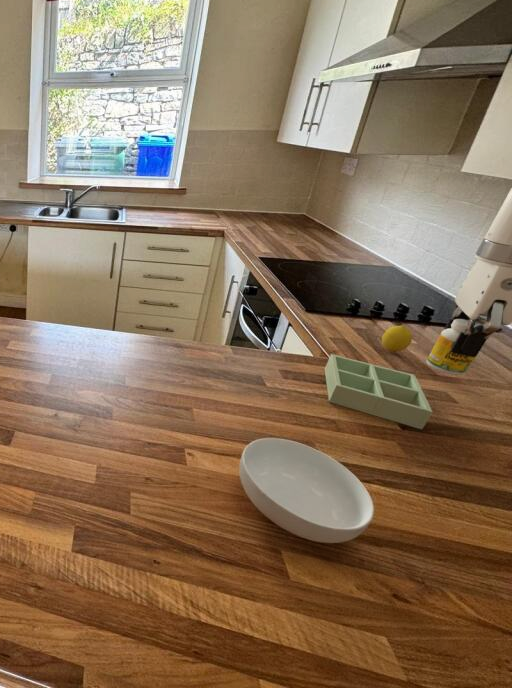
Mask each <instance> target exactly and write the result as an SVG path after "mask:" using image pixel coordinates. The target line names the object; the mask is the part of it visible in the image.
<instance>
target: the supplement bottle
mask: <svg viewBox="0 0 512 688" xmlns="http://www.w3.org/2000/svg"><path fill="white" fill-rule="evenodd" d="M453 320H454V319H453ZM468 321H469V320H464V319H455V320H454V321H453V323H452V324H451V328H449V329H445V328H444V329H445V330H444V329H443V330H442V331H441V332H440V334H439V336H438V338H437V340H436V342H435V344H434V346H433V348H432V349H431V350H430V353H429V354H428V357H427V359H426V364H427V365H428V366H429V367H431V368H432V369H434V370H436V371H439V372H440V373H444V374H446V375H452V376H461V375H464V374H466V373H467V372H468V370H469V368H470V366H471V365H472V363H473V361H474V360H475V358H476V357H469V356H465V355H460V354H456V353H452V352H451V348H452V346H453V345H454V343H455V341H456V339H457V338H458V336H459V334H460V332H463V333H464V331H465V329H466V326H467V324H468ZM478 325H483V323H480V322H476V323H475V326H474V327H476V326H478Z"/></svg>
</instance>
